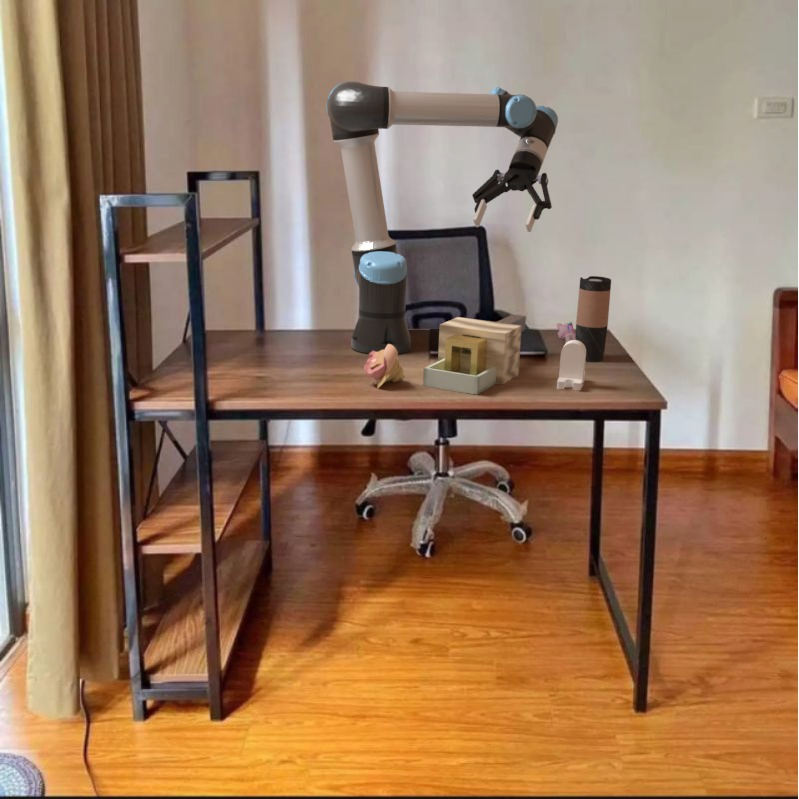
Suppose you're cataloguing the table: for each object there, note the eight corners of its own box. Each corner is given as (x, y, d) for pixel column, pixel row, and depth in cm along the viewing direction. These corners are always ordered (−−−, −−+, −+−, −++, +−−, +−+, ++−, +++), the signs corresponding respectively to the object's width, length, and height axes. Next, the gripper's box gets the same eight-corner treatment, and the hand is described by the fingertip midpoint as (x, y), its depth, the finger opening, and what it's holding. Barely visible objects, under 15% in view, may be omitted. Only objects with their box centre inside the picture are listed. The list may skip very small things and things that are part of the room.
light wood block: (455, 365, 243) (457, 317, 240) (518, 375, 236) (521, 325, 233) (437, 374, 234) (439, 324, 231) (502, 384, 227) (505, 333, 224)
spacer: (453, 374, 232) (455, 334, 230) (484, 379, 229) (486, 338, 226) (444, 379, 228) (445, 338, 225) (475, 384, 225) (477, 343, 222)
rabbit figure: (585, 352, 265) (572, 330, 279) (588, 331, 263) (574, 310, 276) (561, 352, 265) (549, 330, 278) (564, 330, 262) (552, 309, 275)
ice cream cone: (396, 378, 232) (419, 355, 226) (386, 408, 225) (410, 386, 219) (362, 357, 230) (385, 333, 224) (352, 387, 223) (375, 364, 217)
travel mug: (604, 363, 249) (611, 282, 243) (572, 360, 250) (579, 280, 245) (604, 355, 256) (611, 277, 250) (573, 353, 258) (580, 275, 252)
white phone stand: (584, 380, 233) (588, 338, 230) (580, 391, 224) (584, 347, 221) (561, 378, 235) (565, 336, 232) (556, 389, 225) (559, 345, 223)
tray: (423, 385, 225) (423, 368, 224) (443, 375, 234) (444, 358, 233) (477, 394, 219) (478, 377, 218) (495, 383, 228) (496, 366, 227)
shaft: (511, 328, 255) (512, 314, 254) (525, 329, 253) (525, 316, 252) (466, 350, 231) (466, 335, 230) (480, 352, 230) (481, 337, 229)
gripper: (478, 146, 258) (450, 211, 249) (573, 151, 247) (547, 219, 238) (485, 167, 264) (458, 231, 255) (578, 173, 253) (553, 240, 244)
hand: (501, 226), depth 247 cm, fingers open, 13 cm apart
